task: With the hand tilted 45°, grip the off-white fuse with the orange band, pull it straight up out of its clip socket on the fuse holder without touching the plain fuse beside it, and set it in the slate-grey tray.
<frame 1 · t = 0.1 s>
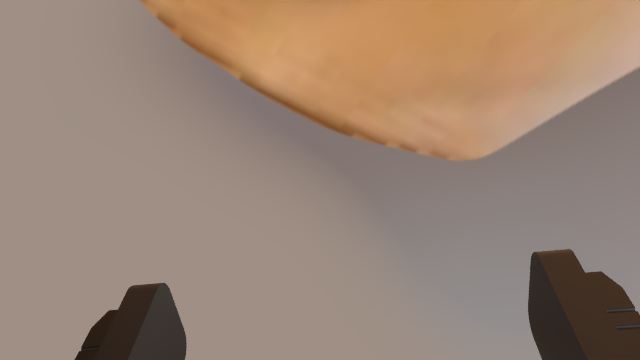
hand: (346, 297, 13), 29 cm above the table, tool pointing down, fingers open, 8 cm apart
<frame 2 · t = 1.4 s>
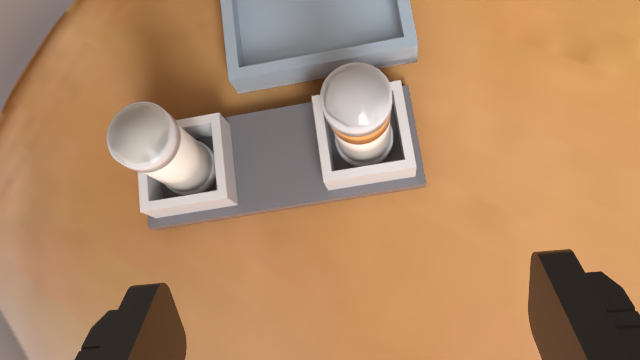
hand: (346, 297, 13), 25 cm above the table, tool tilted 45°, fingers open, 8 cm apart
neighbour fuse: (193, 170, 39), point 1 cm above the table, touching fuse holder
fuse holder: (280, 160, 40), on the table
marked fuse: (364, 142, 38), point 1 cm above the table, touching fuse holder
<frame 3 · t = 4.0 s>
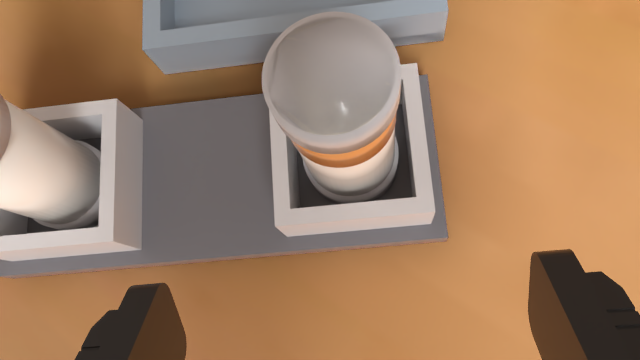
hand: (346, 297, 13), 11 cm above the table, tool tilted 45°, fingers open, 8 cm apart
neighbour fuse: (78, 189, 25), point 1 cm above the table, touching fuse holder
fuse holder: (218, 181, 25), on the table
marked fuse: (352, 161, 24), point 1 cm above the table, touching fuse holder
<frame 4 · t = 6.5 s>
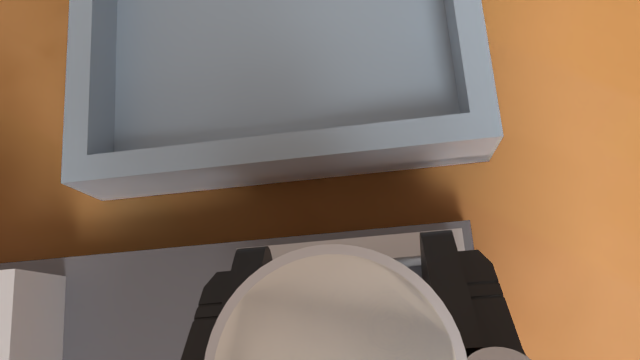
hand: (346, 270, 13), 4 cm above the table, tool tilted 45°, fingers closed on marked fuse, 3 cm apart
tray: (278, 7, 20), on the table
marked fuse: (362, 351, 16), point 1 cm above the table, touching fuse holder, gripper
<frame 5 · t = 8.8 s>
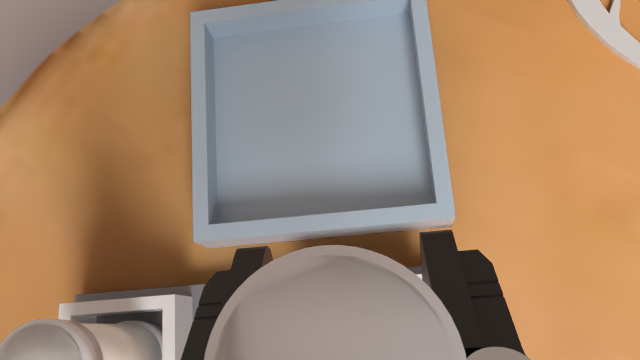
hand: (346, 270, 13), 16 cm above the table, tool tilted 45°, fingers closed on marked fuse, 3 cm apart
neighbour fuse: (138, 359, 29), point 1 cm above the table, touching fuse holder
fuse holder: (257, 350, 29), on the table
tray: (318, 123, 32), on the table
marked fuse: (362, 351, 16), point 13 cm above the table, touching gripper
when the fingers open (6 cm above the table, at t = 11.5 s): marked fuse drops 2 cm, resting on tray.
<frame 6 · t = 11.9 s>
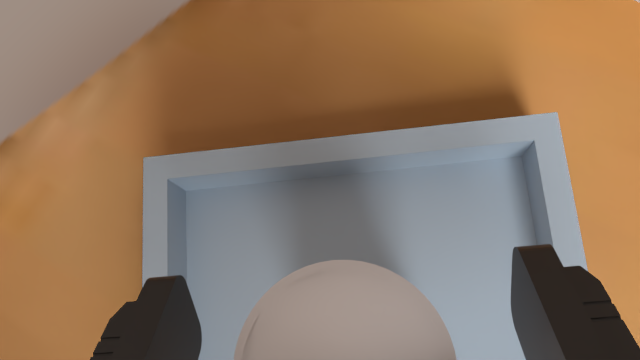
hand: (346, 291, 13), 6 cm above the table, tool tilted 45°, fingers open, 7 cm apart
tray: (365, 348, 18), on the table
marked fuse: (365, 351, 18), point 1 cm above the table, touching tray
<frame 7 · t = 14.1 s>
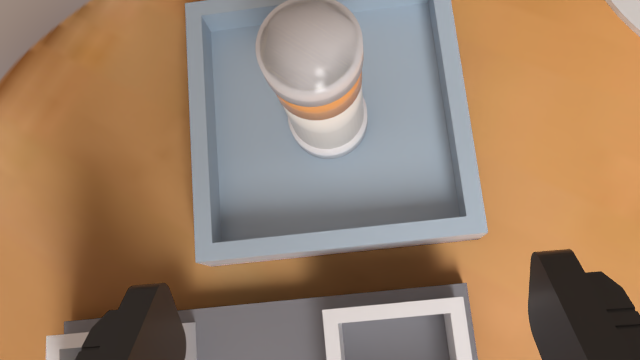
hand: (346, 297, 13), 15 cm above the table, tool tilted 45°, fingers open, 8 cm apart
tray: (329, 126, 29), on the table
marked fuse: (329, 122, 28), point 1 cm above the table, touching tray
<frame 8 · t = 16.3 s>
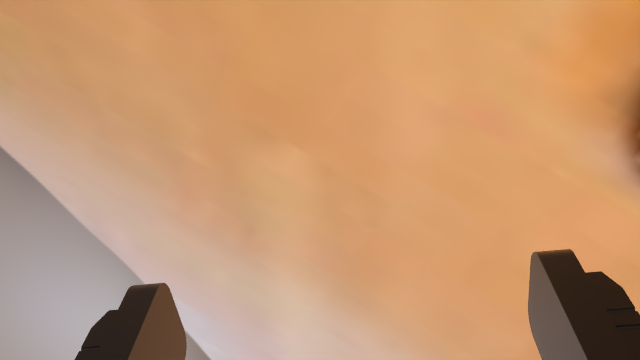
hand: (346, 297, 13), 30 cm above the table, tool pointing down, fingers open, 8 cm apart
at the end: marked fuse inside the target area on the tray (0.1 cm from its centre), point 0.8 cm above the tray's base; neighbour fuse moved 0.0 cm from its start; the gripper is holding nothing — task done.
